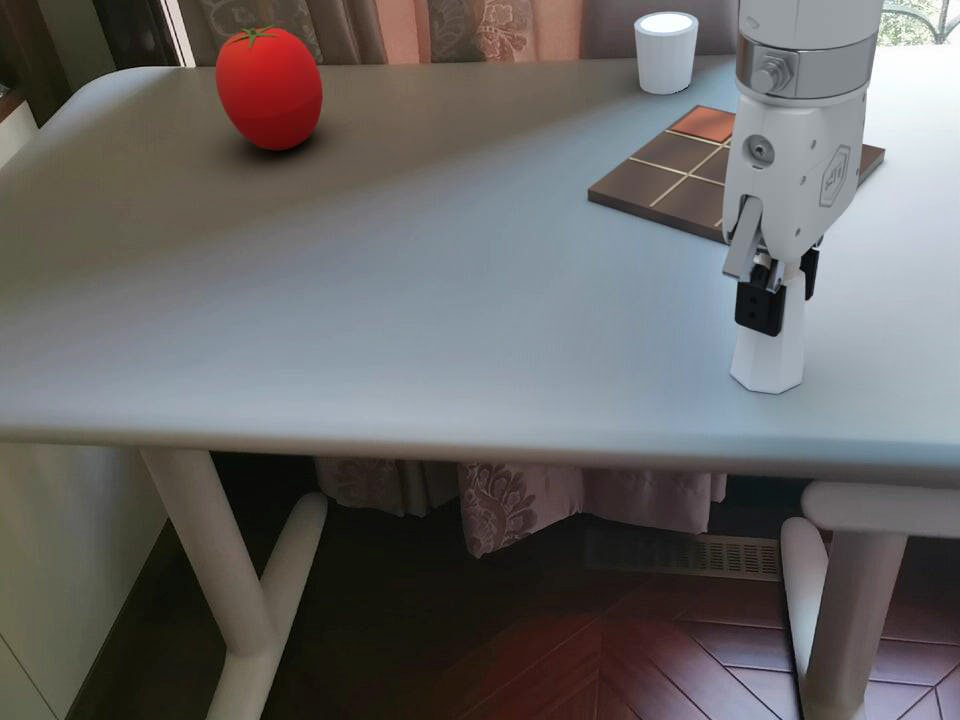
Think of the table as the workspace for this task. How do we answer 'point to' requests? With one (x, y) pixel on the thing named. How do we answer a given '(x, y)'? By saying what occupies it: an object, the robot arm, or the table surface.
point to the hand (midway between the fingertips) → (773, 308)
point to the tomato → (269, 87)
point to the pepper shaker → (774, 341)
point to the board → (686, 174)
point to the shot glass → (665, 51)
